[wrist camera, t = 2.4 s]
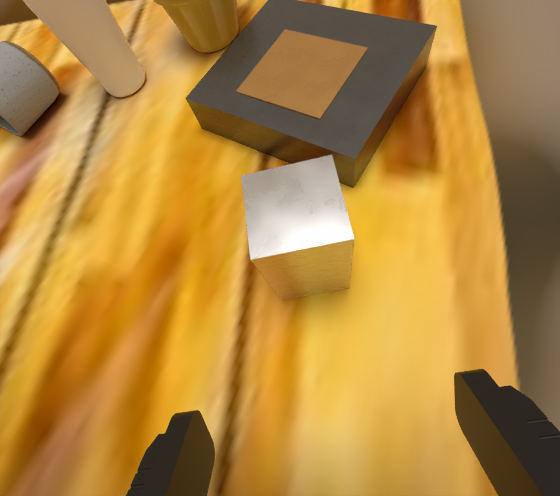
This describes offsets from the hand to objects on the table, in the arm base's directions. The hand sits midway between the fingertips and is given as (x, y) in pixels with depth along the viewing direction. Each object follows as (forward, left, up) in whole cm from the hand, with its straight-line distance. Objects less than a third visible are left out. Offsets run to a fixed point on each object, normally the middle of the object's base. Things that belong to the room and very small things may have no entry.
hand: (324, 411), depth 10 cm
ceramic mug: (-49, +9, -14) cm, 52 cm away
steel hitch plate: (-15, +24, -13) cm, 31 cm away
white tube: (-38, +18, -13) cm, 44 cm away
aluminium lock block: (-6, +8, -13) cm, 17 cm away
